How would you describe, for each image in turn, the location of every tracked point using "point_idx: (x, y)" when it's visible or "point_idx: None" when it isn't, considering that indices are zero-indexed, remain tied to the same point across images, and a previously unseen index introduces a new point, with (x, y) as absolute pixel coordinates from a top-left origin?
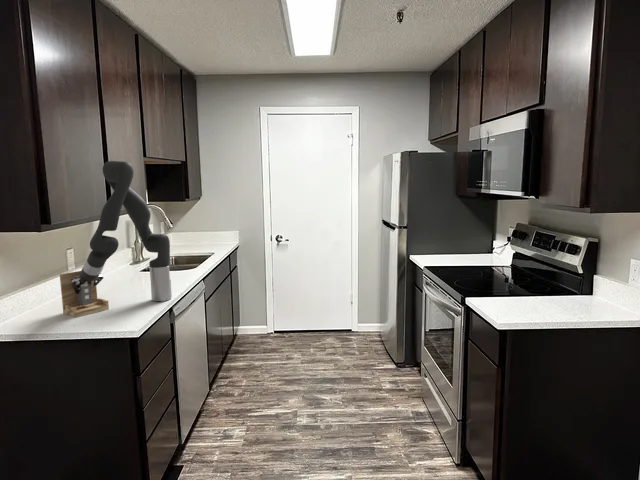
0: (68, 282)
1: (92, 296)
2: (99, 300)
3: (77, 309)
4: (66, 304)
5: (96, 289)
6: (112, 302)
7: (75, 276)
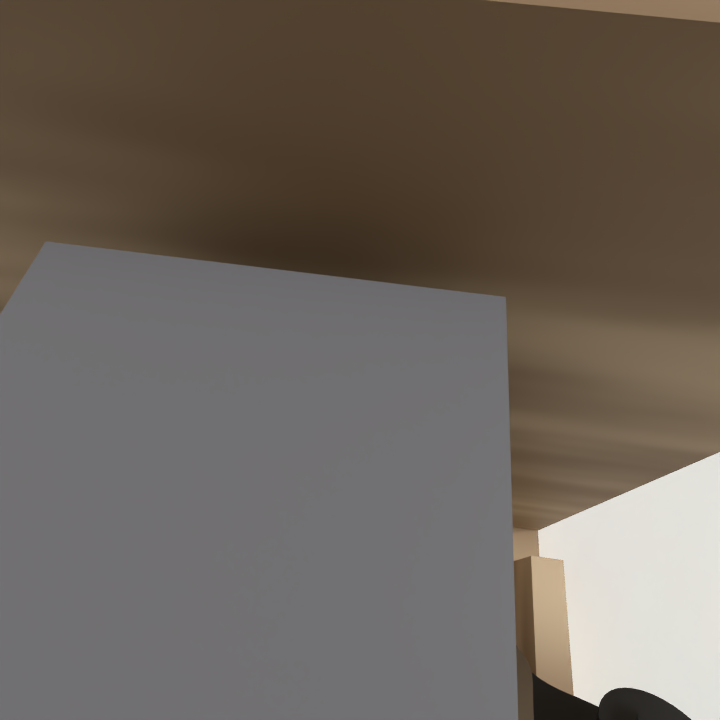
0: (2, 289)
1: None
2: (528, 655)
3: None
4: None
5: (624, 492)
6: (700, 555)
7: (38, 269)
